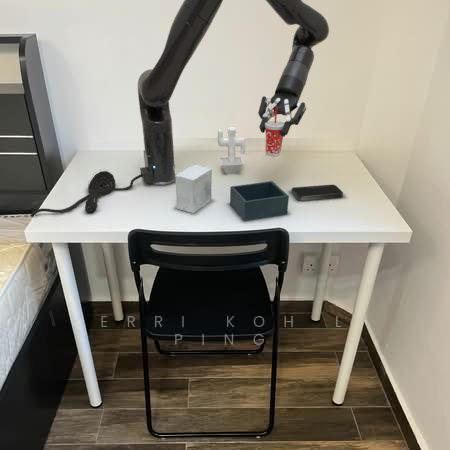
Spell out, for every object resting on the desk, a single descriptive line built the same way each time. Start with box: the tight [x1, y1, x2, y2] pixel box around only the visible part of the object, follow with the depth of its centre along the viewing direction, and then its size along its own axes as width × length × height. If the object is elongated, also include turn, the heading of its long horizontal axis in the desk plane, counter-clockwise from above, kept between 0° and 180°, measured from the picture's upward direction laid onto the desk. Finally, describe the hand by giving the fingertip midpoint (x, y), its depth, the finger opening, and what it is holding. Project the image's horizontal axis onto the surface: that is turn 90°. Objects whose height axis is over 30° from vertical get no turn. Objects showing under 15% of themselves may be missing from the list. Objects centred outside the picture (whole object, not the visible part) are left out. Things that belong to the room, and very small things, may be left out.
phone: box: [291, 184, 344, 202], centre depth 145 cm, size 8×1×15 cm
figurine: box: [217, 125, 246, 175], centre depth 156 cm, size 7×9×15 cm
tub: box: [229, 180, 290, 222], centre depth 135 cm, size 14×12×6 cm
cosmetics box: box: [175, 164, 213, 214], centre depth 136 cm, size 10×6×10 cm, turn 151°
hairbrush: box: [84, 169, 116, 215], centre depth 142 cm, size 8×4×25 cm
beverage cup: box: [264, 106, 285, 158], centre depth 136 cm, size 6×6×14 cm
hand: (272, 133), depth 135 cm, fingers closed on beverage cup, 6 cm apart
